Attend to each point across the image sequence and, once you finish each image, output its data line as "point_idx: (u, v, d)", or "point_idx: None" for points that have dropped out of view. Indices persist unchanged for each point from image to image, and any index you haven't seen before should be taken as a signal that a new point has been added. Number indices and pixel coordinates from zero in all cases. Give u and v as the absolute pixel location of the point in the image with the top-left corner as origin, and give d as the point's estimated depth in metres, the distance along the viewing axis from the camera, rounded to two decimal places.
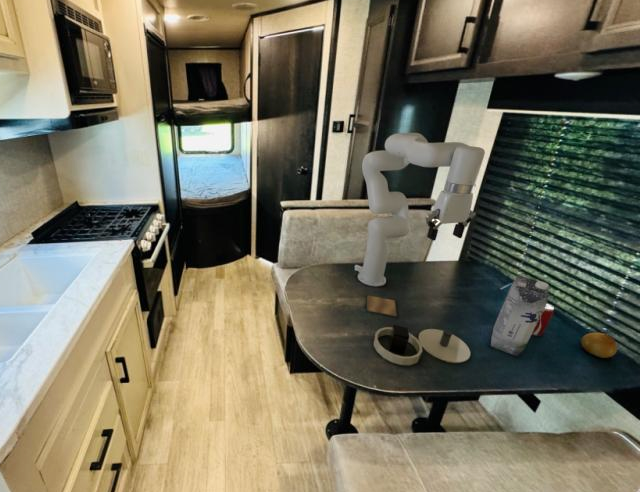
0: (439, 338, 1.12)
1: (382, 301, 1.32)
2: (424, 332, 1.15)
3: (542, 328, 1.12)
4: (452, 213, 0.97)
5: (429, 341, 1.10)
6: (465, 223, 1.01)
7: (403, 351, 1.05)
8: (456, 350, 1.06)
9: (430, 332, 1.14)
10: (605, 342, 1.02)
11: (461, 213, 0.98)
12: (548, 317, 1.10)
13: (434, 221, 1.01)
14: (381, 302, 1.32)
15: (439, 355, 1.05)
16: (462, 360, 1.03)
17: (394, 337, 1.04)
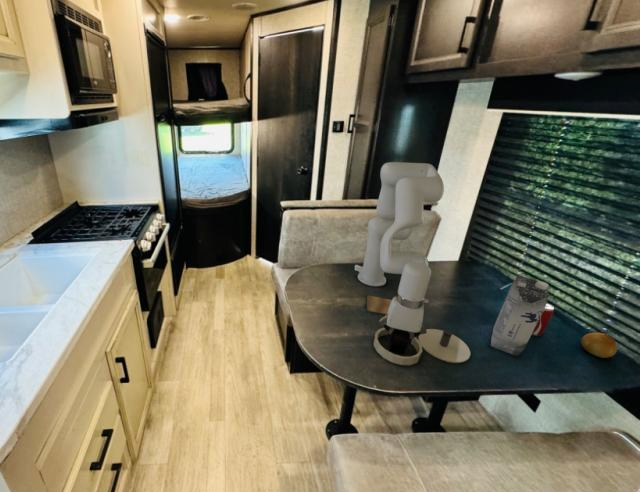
0: (439, 338, 1.12)
1: (382, 301, 1.32)
2: None
3: (542, 328, 1.12)
4: (398, 321, 1.01)
5: (429, 341, 1.10)
6: (411, 335, 1.03)
7: (403, 351, 1.05)
8: (456, 350, 1.06)
9: (430, 332, 1.14)
10: (605, 342, 1.02)
11: (409, 324, 1.00)
12: (548, 317, 1.10)
13: None
14: (381, 302, 1.32)
15: (439, 355, 1.05)
16: (462, 360, 1.03)
17: (394, 337, 1.04)
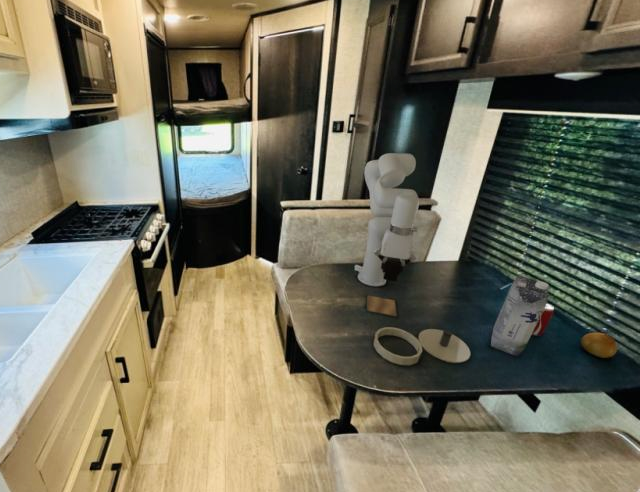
0: (439, 338, 1.12)
1: (382, 301, 1.32)
2: (424, 332, 1.15)
3: (542, 328, 1.12)
4: (391, 249, 1.15)
5: (429, 341, 1.10)
6: (402, 263, 1.16)
7: (395, 278, 1.19)
8: (456, 350, 1.06)
9: (430, 332, 1.14)
10: (605, 342, 1.02)
11: (400, 251, 1.14)
12: (548, 317, 1.10)
13: None
14: (381, 302, 1.32)
15: (439, 355, 1.05)
16: (462, 360, 1.03)
17: (387, 265, 1.18)
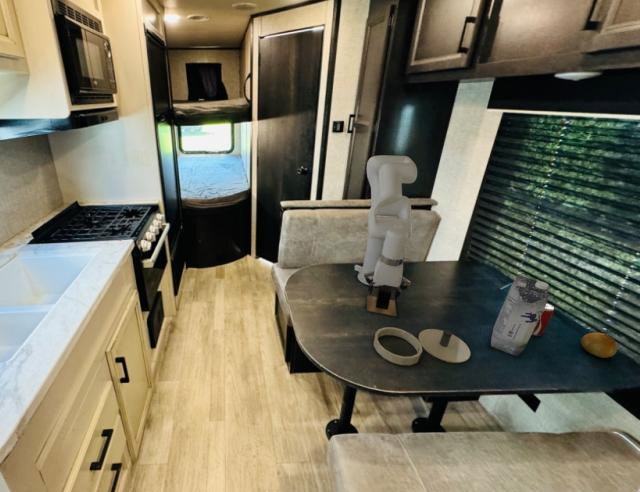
0: (439, 338, 1.12)
1: None
2: (424, 332, 1.15)
3: (542, 328, 1.12)
4: (382, 277, 1.23)
5: (429, 341, 1.10)
6: (399, 288, 1.24)
7: (387, 306, 1.27)
8: (456, 350, 1.06)
9: (430, 332, 1.14)
10: (605, 342, 1.02)
11: (391, 279, 1.22)
12: (548, 317, 1.10)
13: None
14: None
15: (439, 355, 1.05)
16: (462, 360, 1.03)
17: (379, 295, 1.26)
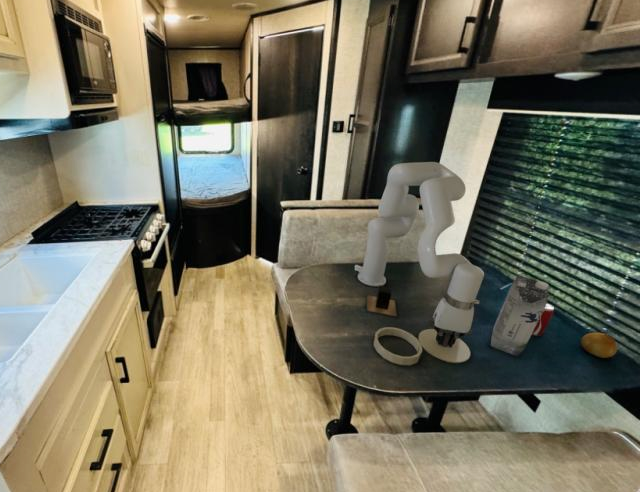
0: None
1: None
2: (424, 332, 1.15)
3: (542, 328, 1.12)
4: (447, 321, 1.03)
5: (429, 341, 1.10)
6: (455, 335, 1.05)
7: (387, 306, 1.27)
8: (456, 350, 1.06)
9: (430, 332, 1.14)
10: (605, 342, 1.02)
11: (458, 324, 1.02)
12: (548, 317, 1.10)
13: None
14: None
15: (439, 355, 1.05)
16: (462, 360, 1.03)
17: (379, 295, 1.26)
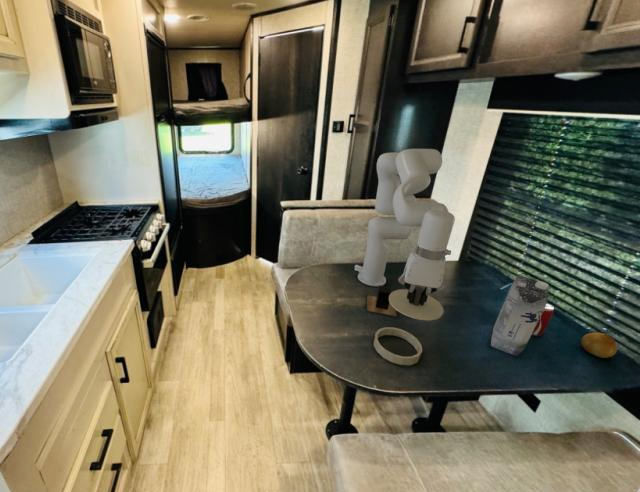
0: None
1: None
2: (395, 292, 1.06)
3: (542, 328, 1.12)
4: (417, 275, 0.94)
5: (400, 300, 1.02)
6: (427, 291, 0.96)
7: (387, 306, 1.27)
8: (428, 308, 0.98)
9: (402, 292, 1.06)
10: (605, 342, 1.02)
11: (429, 278, 0.93)
12: (548, 317, 1.10)
13: None
14: None
15: (409, 313, 0.96)
16: (434, 317, 0.94)
17: (379, 295, 1.26)
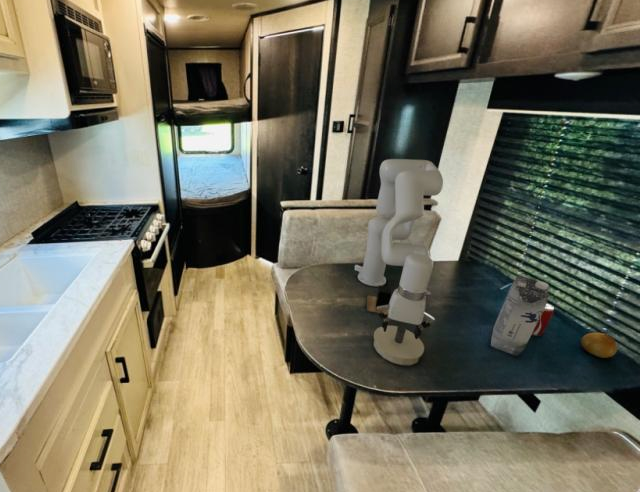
0: (395, 334, 1.09)
1: None
2: (381, 328, 1.12)
3: (542, 328, 1.12)
4: (400, 313, 1.01)
5: (384, 338, 1.08)
6: (421, 326, 1.01)
7: None
8: (410, 347, 1.04)
9: (387, 329, 1.12)
10: (605, 342, 1.02)
11: (411, 316, 1.00)
12: (548, 317, 1.10)
13: None
14: None
15: (392, 352, 1.02)
16: (414, 357, 1.00)
17: (379, 295, 1.26)
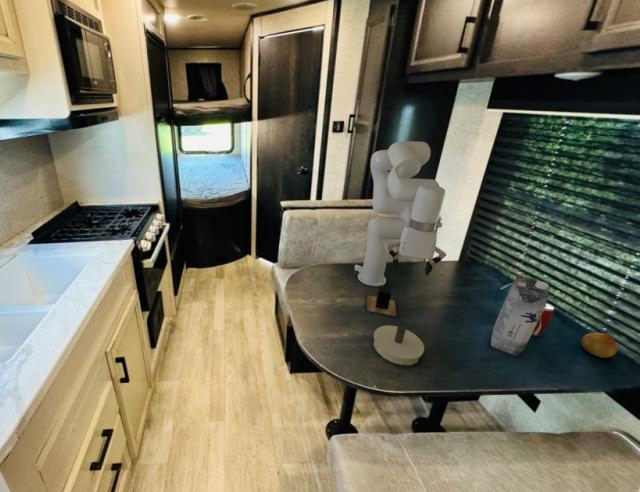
0: (395, 334, 1.09)
1: None
2: (381, 328, 1.12)
3: (542, 328, 1.12)
4: (411, 247, 1.00)
5: (384, 338, 1.08)
6: (432, 261, 1.01)
7: (387, 306, 1.27)
8: (410, 347, 1.04)
9: (387, 329, 1.12)
10: (605, 342, 1.02)
11: (422, 250, 0.99)
12: (548, 317, 1.10)
13: (398, 252, 1.05)
14: None
15: (392, 352, 1.02)
16: (414, 357, 1.00)
17: (379, 295, 1.26)
